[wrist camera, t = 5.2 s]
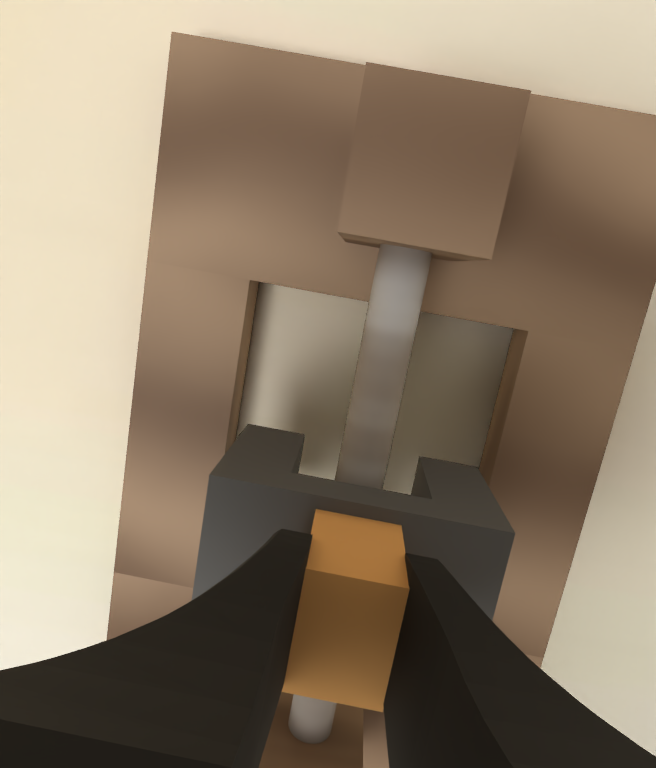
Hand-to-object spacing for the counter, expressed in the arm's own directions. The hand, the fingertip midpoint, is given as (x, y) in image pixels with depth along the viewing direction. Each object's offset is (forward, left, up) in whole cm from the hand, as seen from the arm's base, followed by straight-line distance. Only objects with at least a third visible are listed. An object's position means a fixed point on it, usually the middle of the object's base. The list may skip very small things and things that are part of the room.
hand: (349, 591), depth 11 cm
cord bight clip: (0, 0, -5) cm, 5 cm away
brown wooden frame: (0, 0, -8) cm, 8 cm away
